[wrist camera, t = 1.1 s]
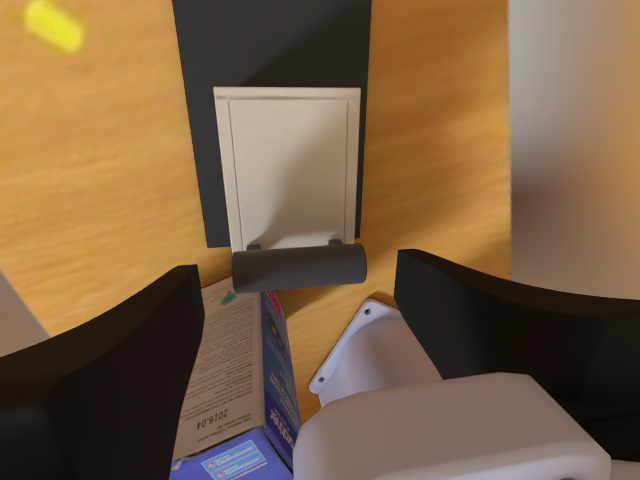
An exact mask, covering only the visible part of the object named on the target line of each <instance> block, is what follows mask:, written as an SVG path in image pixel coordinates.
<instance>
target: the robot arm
mask: <svg viewBox="0 0 640 480" xmlns="http://www.w3.org/2000/svg"><path fill="white" fill-rule="evenodd" d="M394 299H395V302H396V304H397V306H398V309H399V310H398V309H395V308H393V307H391V306H389V305H386V304H384V303H382V302H379V301H377V300H375V299H372V298H370V299H367V300H366V301H365V302H364V303H363V305H362V306H361V308H360V309H359V311H358V312H357V314H356V315H355V317H354V318H353V320H352V321H351V323H350V324H349V326H348V327H347V329H346V330H345V332H344V333H343V335H342V336H341V337H340V339H339V340H338V342H337V343H336V345H335V346H334V348H333V349H332V351H331V352H330V354H329V355H328V357H327V358H326V360H325V361H324V363H323V364H322V366H321V367H320V369H319V370H318V372H317V373H316V375H315V376H314V378H313V379H312V381H311V382H310V384H309V390H310V392H312V393H315V394H319V398H320V403H321V409H320V410H319V411H318V412H317V413H316V414H315V415H313V416H312V417H311V418H310V419H309V420H308V421H307V422H306V423H304V424H303V425H302V426H301V428H300V431H299V434H298V437H297V440H296V443H295V446H294V449H293V452H292V453H293V474H294V478H293V480H640V300H633V299H619V298H607V297H597V296H589V295H581V294H574V293H567V292H560V291H555V290H550V289H544V288H539V287H534V286H529V285H525V284H521V283H517V282H513V281H509V280H506V279H502V278H498V277H495V276H492V275H489V274H485V273H482V272H479V271H476V270H473V269H471V268H468V267H465V266H462V265H460V264H457V263H454V262H452V261H449V260H447V259H444V258H441V257H439V256H436V255H433V254H431V253H428V252H425V251H421V250H418V249H403V250H398V257H397V267H396V277H395V287H394ZM366 309H369V311H367V312H365V310H366ZM204 320H205V311H204V304H203V298H202V292H201V286H200V279H199V273H198V267H197V264H195V265H181V266H177V267H175V268H173V269H171V270H170V271H168V272H167V273H165V274H164V275H163V276H161V277H160V278H158V279H157V280H155V281H154V282H153V283H151V284H150V285H148V286H147V287H145V288H144V289H142V290H141V291H139V292H138V293H136V294H135V295H133V296H131V297H130V298H128V299H127V300H125V301H123V302H122V303H120V304H119V305H117V306H115V307H114V308H112V309H110V310H109V311H107V312H105V313H103V314H101V315H99V316H97V317H95V318H94V319H92V320H90V321H88V322H86V323H84V324H82V325H80V326H77V327H75V328H73V329H71V330H68V331H66V332H64V333H61V334H59V335H57V336H54V337H52V338H50V339H48V340H46V341H43V342H41V343H38V344H36V345H33V346H30V347H28V348H25V349H22V350H19V351H17V352H14V353H11V354H9V355H6V356H3V357H0V480H169V477H170V471H171V465H172V459H173V453H174V447H175V441H176V436H177V430H178V425H179V419H180V414H181V410H182V406H183V402H184V398H185V394H186V391H187V388H188V384H189V381H190V378H191V374H192V371H193V368H194V364H195V361H196V358H197V354H198V351H199V347H200V344H201V340H202V334H203V328H204ZM321 377H323V378H321ZM320 378H321V379H320Z"/></svg>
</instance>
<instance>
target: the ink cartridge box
mask: <svg viewBox="0 0 640 480" xmlns="http://www.w3.org/2000/svg"><path fill="white" fill-rule="evenodd" d="M201 292H202V298H203V304H204V311H205V320H204V328H203V334H202V340H201V344H200V347H199V351H198V354H197V358H196V361H195V364H194V368H193V371H192V374H191V378H190V381H189V384H188V388H187V391H186V394H185V398H184V402H183V406H182V410H181V414H180V419H179V425H178V430H177V436H176V441H175V447H174V453H173V459H172V465H171V471H170V477H169V480H293V478H294V474H293V453H292V452H293V449H294V446H295V443H296V440H297V437H298V434H299V431H300V428H301V423H300V416H299V410H298V403H297V397H296V390H295V383H294V376H293V369H292V362H291V355H290V348H289V341H288V333H287V326H286V316H285V313H284V311H283V308H282V306H281V304H280V302H279V300H278V298H277V296H276V294H275V292H274V291H264V292H252V293H241V294H236V293H235V291H234V288H233V280H232V277H229V278H227V279H225V280H222V281H220V282H218V283H215V284H213V285H210V286H208V287H206V288H203V289H201Z"/></svg>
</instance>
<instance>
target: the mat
mask: <svg viewBox="0 0 640 480" xmlns="http://www.w3.org/2000/svg"><path fill="white" fill-rule="evenodd" d="M371 1H372V0H172V3H173V10H174V17H175V24H176V31H177V38H178V45H179V52H180V59H181V66H182V73H183V80H184V87H185V94H186V101H187V108H188V115H189V122H190V129H191V136H192V143H193V150H194V157H195V164H196V171H197V178H198V185H199V192H200V199H201V206H202V213H203V220H204V227H205V234H206V241H207V247H208V248H215V247H231V240H230V231H229V222H228V213H227V205H226V196H225V187H224V178H223V169H222V160H221V151H220V142H219V134H218V125H217V116H216V107H215V98H214V89H213V88H214V87H321V88H360V89H361V94H360V117H359V141H358V164H357V187H356V211H355V234H354V238H360V223H361V203H362V183H363V162H364V142H365V122H366V102H367V82H368V62H369V42H370V21H371Z"/></svg>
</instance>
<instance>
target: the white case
mask: <svg viewBox="0 0 640 480" xmlns="http://www.w3.org/2000/svg"><path fill="white" fill-rule="evenodd" d="M213 89H214V98H215V107H216V116H217V125H218V134H219V142H220V151H221V160H222V169H223V178H224V187H225V196H226V205H227V213H228V222H229V231H230V240H231V249H232V280H233V288H234V291H235V293H236V294H241V293H252V292H264V291H275V290H287V289H298V288H310V287H321V286H333V285H344V284H356V283H363V282H364V281H365V279H366V275H367V260H366V254H365V251H364V248H363V246H362V245H361V244H360V243H354V234H355V211H356V187H357V164H358V141H359V117H360V94H361V89H360V88H321V87H214V88H213Z"/></svg>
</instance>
